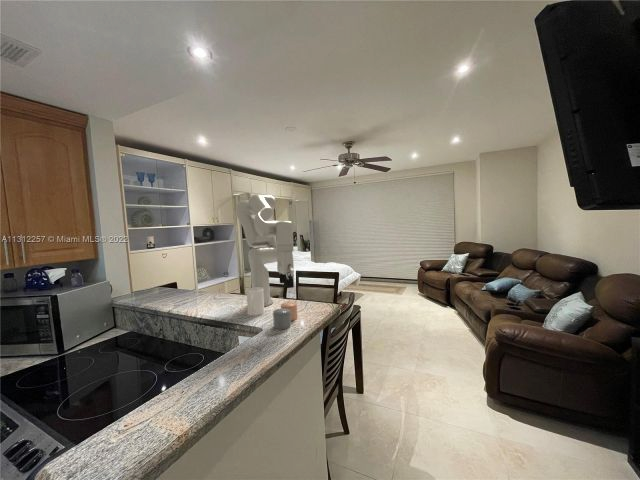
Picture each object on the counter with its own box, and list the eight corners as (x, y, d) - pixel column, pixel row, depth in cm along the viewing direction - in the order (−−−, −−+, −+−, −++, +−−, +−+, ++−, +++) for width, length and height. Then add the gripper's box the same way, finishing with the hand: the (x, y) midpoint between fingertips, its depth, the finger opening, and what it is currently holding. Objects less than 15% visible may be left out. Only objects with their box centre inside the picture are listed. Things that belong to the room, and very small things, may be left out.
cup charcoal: (271, 324, 111) (271, 310, 110) (287, 321, 114) (286, 307, 114) (277, 330, 104) (276, 315, 104) (293, 326, 108) (292, 312, 107)
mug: (259, 318, 119) (257, 293, 118) (241, 318, 120) (240, 293, 119) (267, 309, 131) (266, 286, 130) (251, 309, 132) (250, 287, 131)
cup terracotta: (279, 317, 120) (279, 303, 119) (293, 314, 123) (293, 301, 123) (284, 322, 113) (284, 308, 113) (299, 318, 117) (299, 305, 116)
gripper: (271, 247, 121) (273, 282, 122) (283, 250, 105) (284, 291, 107) (286, 246, 124) (287, 280, 125) (300, 249, 109) (301, 288, 110)
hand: (286, 285), depth 116 cm, fingers open, 9 cm apart
